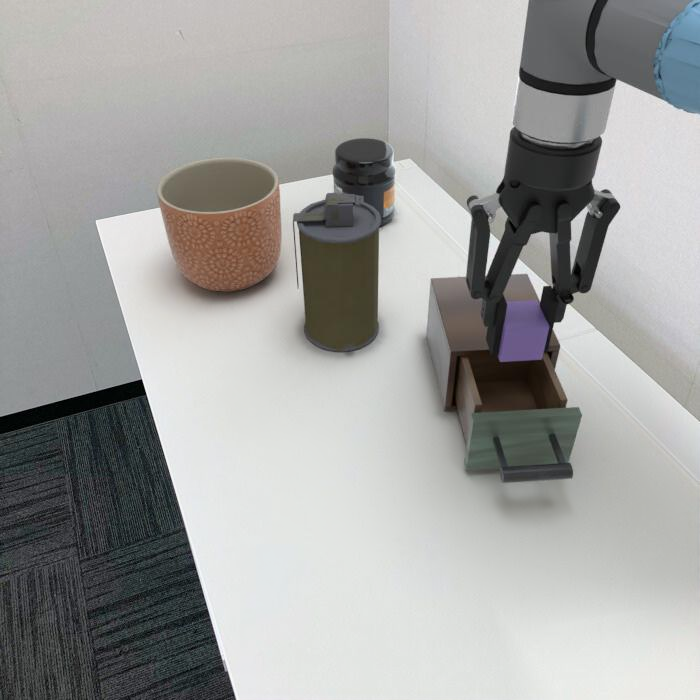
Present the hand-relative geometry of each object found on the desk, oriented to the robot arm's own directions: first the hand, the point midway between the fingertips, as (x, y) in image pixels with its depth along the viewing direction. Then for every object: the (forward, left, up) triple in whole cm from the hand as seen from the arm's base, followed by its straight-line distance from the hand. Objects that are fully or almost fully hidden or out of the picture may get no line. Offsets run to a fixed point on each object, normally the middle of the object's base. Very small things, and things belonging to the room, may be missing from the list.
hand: (516, 345), depth 74 cm
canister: (+22, +17, -14) cm, 31 cm away
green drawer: (-2, -1, -13) cm, 13 cm away
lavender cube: (0, 0, 0) cm, 0 cm away
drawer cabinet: (+12, -1, -14) cm, 18 cm away
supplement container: (+53, +11, -14) cm, 56 cm away
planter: (+37, +33, -14) cm, 52 cm away
